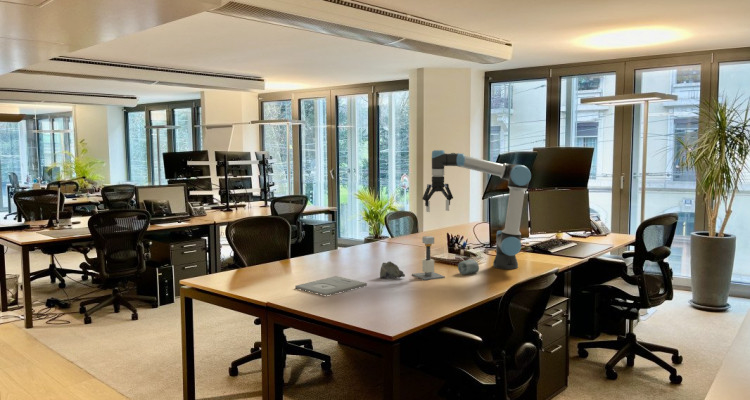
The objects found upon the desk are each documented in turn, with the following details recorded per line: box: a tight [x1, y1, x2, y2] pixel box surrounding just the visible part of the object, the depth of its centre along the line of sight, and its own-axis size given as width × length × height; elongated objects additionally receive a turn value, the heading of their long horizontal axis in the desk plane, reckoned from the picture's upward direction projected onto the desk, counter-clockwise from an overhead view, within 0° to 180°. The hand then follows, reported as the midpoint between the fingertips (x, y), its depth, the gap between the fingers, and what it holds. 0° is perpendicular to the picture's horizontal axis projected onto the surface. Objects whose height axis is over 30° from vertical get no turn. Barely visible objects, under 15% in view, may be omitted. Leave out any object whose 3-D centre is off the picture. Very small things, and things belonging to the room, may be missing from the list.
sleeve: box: [421, 258, 435, 273], centre depth 331 cm, size 5×5×7 cm
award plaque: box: [295, 275, 368, 296], centre depth 308 cm, size 25×30×2 cm
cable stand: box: [411, 235, 446, 281], centre depth 330 cm, size 14×14×23 cm
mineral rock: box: [379, 261, 406, 279], centre depth 327 cm, size 13×11×10 cm
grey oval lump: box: [457, 259, 480, 276], centre depth 338 cm, size 14×10×10 cm
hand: (437, 211), depth 342 cm, fingers open, 13 cm apart
